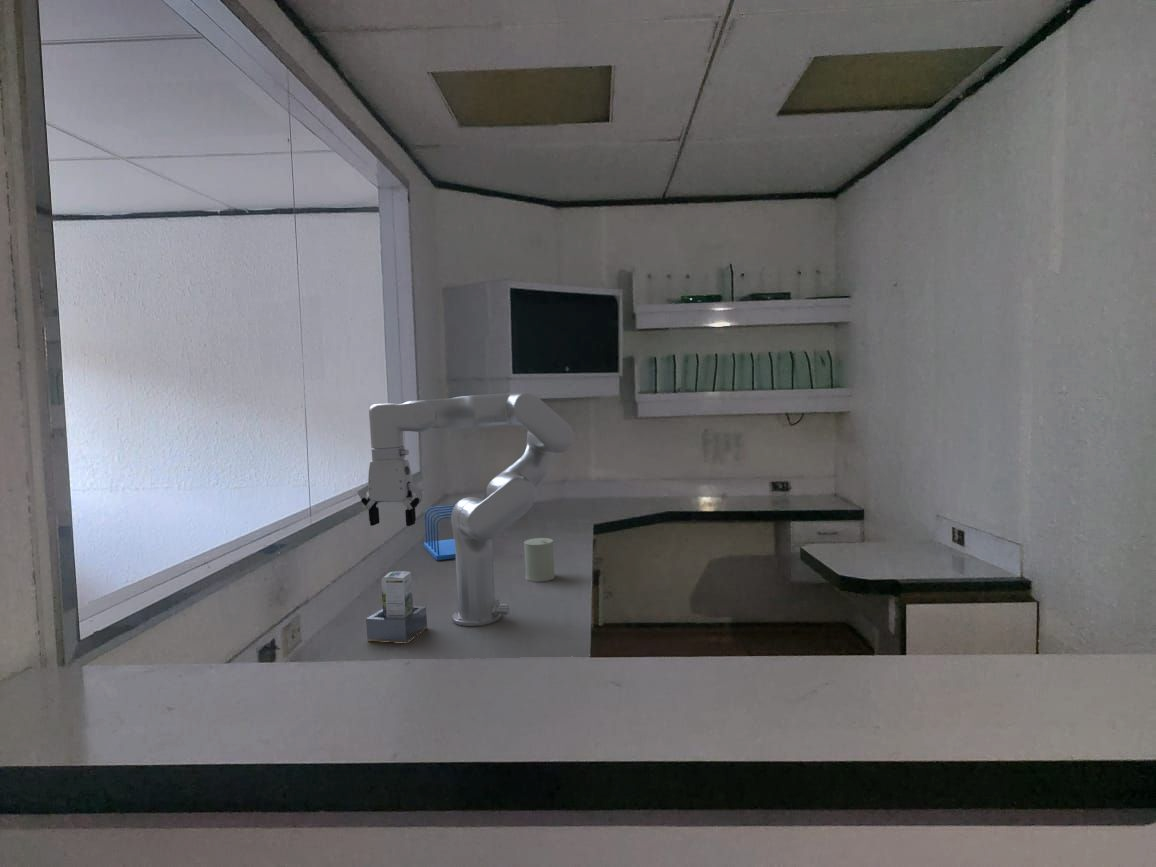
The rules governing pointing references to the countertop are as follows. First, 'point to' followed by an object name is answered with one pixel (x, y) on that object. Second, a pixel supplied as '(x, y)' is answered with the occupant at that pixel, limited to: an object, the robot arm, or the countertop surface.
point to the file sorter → (437, 548)
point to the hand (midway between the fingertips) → (392, 524)
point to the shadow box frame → (396, 626)
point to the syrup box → (397, 595)
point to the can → (539, 559)
